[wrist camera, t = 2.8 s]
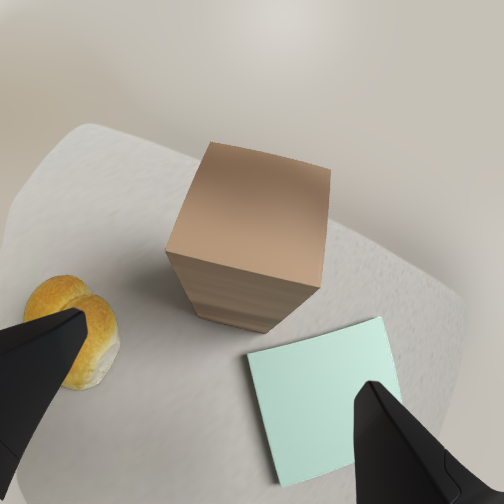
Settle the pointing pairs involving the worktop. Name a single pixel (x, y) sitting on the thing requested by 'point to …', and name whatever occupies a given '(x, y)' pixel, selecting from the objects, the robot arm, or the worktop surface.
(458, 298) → the worktop surface
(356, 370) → the green board
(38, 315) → the bread roll
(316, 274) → the walnut block
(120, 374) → the worktop surface
